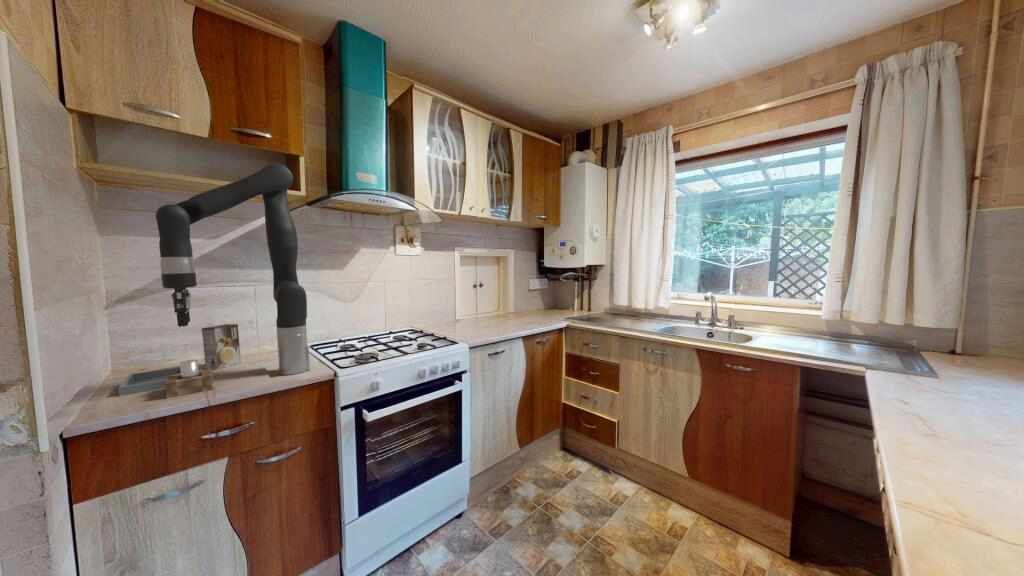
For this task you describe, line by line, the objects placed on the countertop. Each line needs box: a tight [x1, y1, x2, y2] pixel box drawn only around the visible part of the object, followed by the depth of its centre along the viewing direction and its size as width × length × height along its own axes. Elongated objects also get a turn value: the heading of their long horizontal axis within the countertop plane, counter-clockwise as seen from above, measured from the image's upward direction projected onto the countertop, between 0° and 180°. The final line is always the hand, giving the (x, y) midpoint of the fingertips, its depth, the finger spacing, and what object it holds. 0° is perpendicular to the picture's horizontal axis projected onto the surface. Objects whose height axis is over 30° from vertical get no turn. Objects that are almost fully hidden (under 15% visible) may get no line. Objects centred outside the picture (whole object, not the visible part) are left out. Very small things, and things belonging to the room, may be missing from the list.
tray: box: [118, 366, 181, 397], centre depth 112 cm, size 14×17×4 cm
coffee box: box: [201, 323, 242, 370], centre depth 133 cm, size 9×6×16 cm
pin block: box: [165, 368, 214, 399], centre depth 106 cm, size 10×10×6 cm
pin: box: [179, 359, 199, 379], centre depth 106 cm, size 4×4×9 cm
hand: (184, 324), depth 104 cm, fingers open, 8 cm apart
